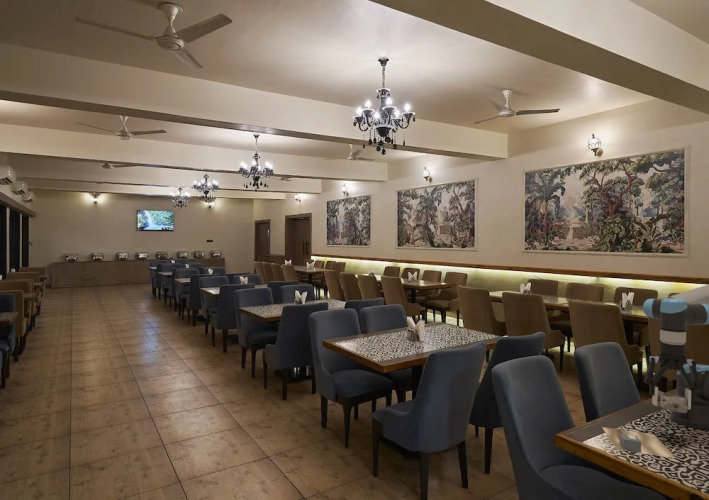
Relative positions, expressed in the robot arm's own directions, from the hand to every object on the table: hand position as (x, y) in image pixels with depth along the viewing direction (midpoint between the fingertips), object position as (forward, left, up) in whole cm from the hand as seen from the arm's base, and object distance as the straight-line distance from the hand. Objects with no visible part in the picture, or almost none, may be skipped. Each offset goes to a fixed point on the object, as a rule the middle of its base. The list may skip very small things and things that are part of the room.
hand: (671, 406), depth 157 cm
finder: (+16, +12, -12) cm, 23 cm away
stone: (0, 0, -1) cm, 1 cm away
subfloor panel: (+12, +5, -13) cm, 18 cm away
